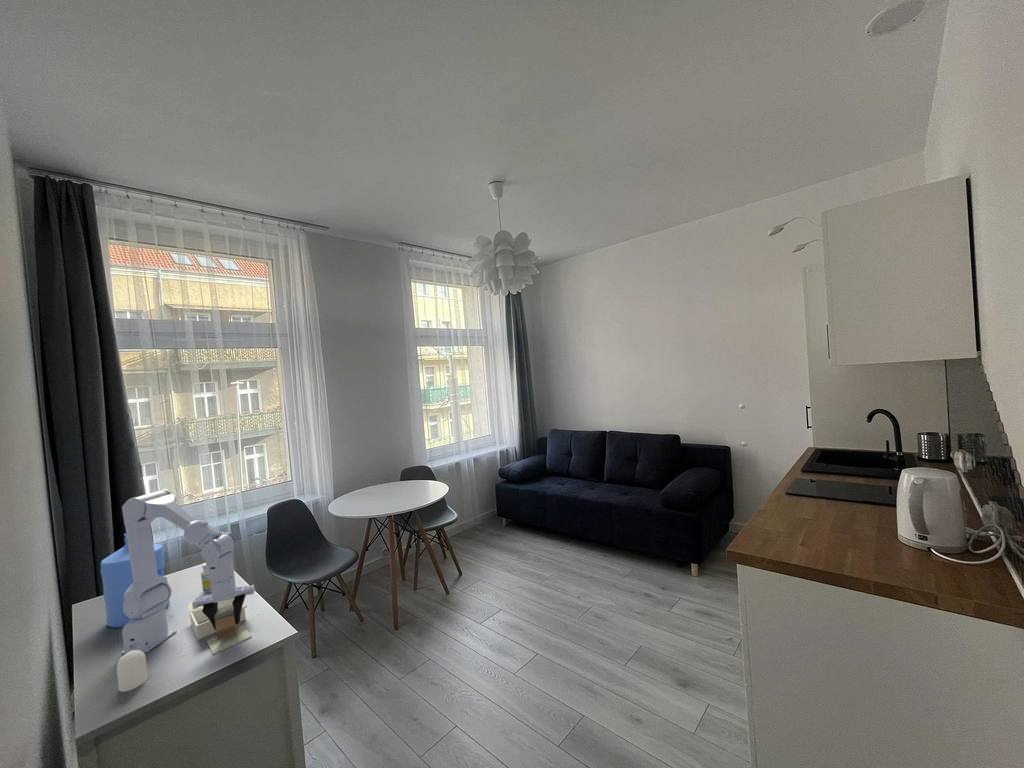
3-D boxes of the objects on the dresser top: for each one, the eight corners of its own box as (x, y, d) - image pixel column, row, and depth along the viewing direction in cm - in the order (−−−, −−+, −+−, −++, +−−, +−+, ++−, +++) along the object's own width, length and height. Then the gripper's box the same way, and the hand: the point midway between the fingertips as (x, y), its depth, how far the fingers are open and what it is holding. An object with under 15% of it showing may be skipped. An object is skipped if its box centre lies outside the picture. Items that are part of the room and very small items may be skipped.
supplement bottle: (218, 583, 154) (215, 558, 154) (223, 587, 150) (220, 561, 150) (201, 590, 149) (198, 564, 149) (205, 594, 146) (202, 567, 146)
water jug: (111, 634, 125) (101, 545, 125) (103, 620, 135) (93, 537, 134) (175, 608, 138) (166, 527, 137) (163, 597, 147) (154, 521, 147)
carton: (248, 623, 123) (246, 605, 123) (200, 645, 115) (197, 625, 115) (234, 603, 137) (232, 587, 137) (189, 621, 128) (187, 603, 128)
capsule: (122, 682, 102) (119, 651, 102) (150, 672, 105) (146, 642, 105) (115, 695, 97) (111, 662, 97) (144, 684, 100) (141, 653, 100)
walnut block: (236, 634, 115) (233, 610, 115) (217, 640, 113) (214, 615, 113) (239, 626, 119) (237, 603, 119) (221, 631, 117) (219, 607, 117)
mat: (251, 637, 116) (251, 635, 116) (213, 654, 109) (213, 653, 109) (243, 626, 122) (243, 624, 122) (207, 642, 116) (206, 640, 116)
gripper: (254, 565, 122) (259, 610, 122) (196, 579, 117) (201, 625, 117) (249, 575, 116) (254, 622, 116) (187, 590, 110) (193, 639, 110)
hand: (227, 625), depth 116 cm, fingers closed on walnut block, 4 cm apart
